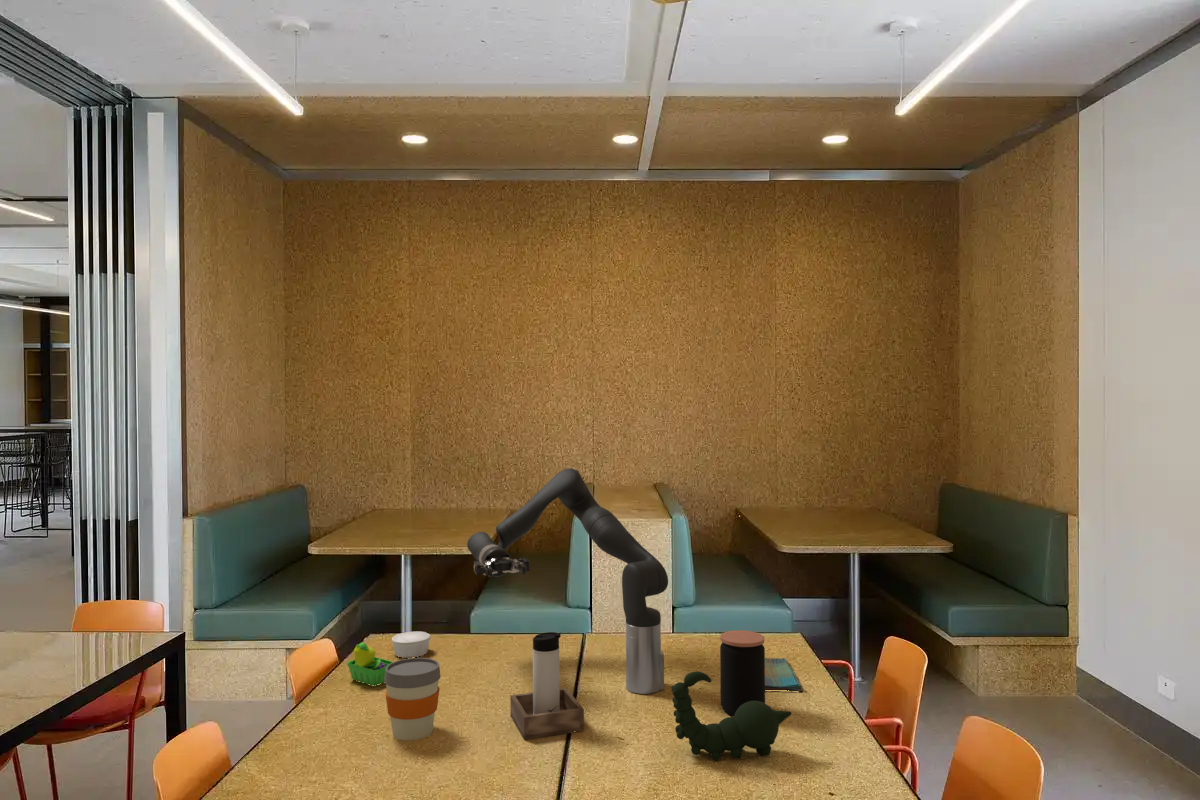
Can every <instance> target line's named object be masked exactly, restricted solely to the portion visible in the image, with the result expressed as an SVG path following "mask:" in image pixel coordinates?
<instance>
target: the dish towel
mask: <svg viewBox="0 0 1200 800" xmlns="http://www.w3.org/2000/svg"><path fill="white" fill-rule="evenodd" d="M802 688H803V686H802V685H801V683H800V682H799V680H798V678H797V675H796V674H795V672H794V671H793V669H792V667H791V666H790V664H789V662H788V661H787V659H786V658H785V657H781V658H774V657H773V658H769V657H767V658H766V657H765V690H787V691H788V690H789V691H803V690H802Z"/></svg>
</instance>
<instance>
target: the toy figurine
mask: <svg viewBox="0 0 1200 800" xmlns="http://www.w3.org/2000/svg"><path fill="white" fill-rule="evenodd" d="M702 681H705V682H707V683H709V684H710V683H712V679H711V677H710V676H709V675H708V674H706V673H705V672H702V671H697V670H695V671H692V672H689V673H687V674H686V675H685V676H684V678H683V682H676V683H675V684H674V685H672V686H671V688H670V690H671V693H672V696H673V697H672V699H671V700H672V703H673V708H674V709H675V710H674V711H673V717H675V718H674V719H675V720H674V721H675V723H677V724H678V725H676V726H675V728H674V729H675V733H676V738H677V739H678V740H683V739H685V738H686V739H688V744H689V745H690V747H691V749H690V751H691V753H692V755H694V756H698V755H700V754H701V750H704V751H705V752H706V753H708V754H710V757H711V759H712V760H713V761H715V760H716V761H719V760H720V759H721V757H722V755H721V754H723V753H725V752H729V753H730V755H731V756H732V758H733V759H737V760H738V759H740V758H741V757H742V756H743V753H744V752H743V748H744V747H748V748H749V749H754V750H755V751H756V753H757V754H758V755H760V756H761V757H768V756H769V755H770V754H771V751H772V746H771V745H774V744H775V741H776V738H777V736H778V733H779V727H780V725H781V724H782V723H783V722H784V721H785V720H786V719H788V718H789V717H790V716H791V715H792V713H793V712H792V711H790V710H775V709H773V708H772V707H771V706H770V705H768V704H767V703H766V702H765V703H763V702H760V701H749V702H746V703H744V704H742V705H741V706H740V707H739V708H738V709H737V711H736V712H735V715H734V717H733V716H729V717H725V718H723V719H721V720H720V721H719V723H714V722H713V723H708V724H705V723H701V722H700V720H699V718H698V717H697V715H696V710H695V709H694V707H693V705H692V704H693V699H692V697H691V695H690V693H689V692H690V689H689V688H691V687H693V686H695V685H696V684H697V683H698V682H702Z"/></svg>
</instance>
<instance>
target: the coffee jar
mask: <svg viewBox="0 0 1200 800" xmlns="http://www.w3.org/2000/svg"><path fill="white" fill-rule="evenodd" d="M719 637H720V638H719V639H720V641H721V644H720V647H719V649H720V651H719V653H720V654H719V655H720V656H719V657H720V658H719V661H720V663H719V668H720V669H719V670H720V676H719V678H720V679H719V680H720V681H719V682H720V685H719V687H720V706H721V708H722V710H723V713H725V714H727V715H728V716H729V717H734V715H735V712H736V711H737V709H738V708H739V707H740V706H741V705H742V704H744V703H746V702H749V701H760V702H763V703H765V704H766V691H765V658H766V656H765V655H766V651H765V650H766V648H765V646H764V645H763V644H764V643H765V636H764V635H763V634H762V633H759V632H755V631H750V630H744V629H743V630H735V629H734V630H729V631H724V632H722V633H721V634H720V636H719Z"/></svg>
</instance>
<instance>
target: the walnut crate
mask: <svg viewBox="0 0 1200 800" xmlns="http://www.w3.org/2000/svg"><path fill="white" fill-rule="evenodd" d="M509 697H510V702H509V704H510V718H511V719H513V720H512V721H513V723H514V725H515V726H516V728H517V730H518V731H519V733H520V736H521V738H523V741H528V740H533V739H534V740H535V739H541V738H546V737H547V738H548V737H554V736H560V735H569V734H572V733H571V732H574V731H581V732H583V731H582V730H584V731H585V708H583V706H582V705H581V704H580V702H579V701H578V700H577V699H576V698H575V696H574V695H573V694H572V693H571V692H570V690H569V689H568V688H567V687H563V688H560V711H555V712H548V713H540V714H533V691H532V692H524V693H518V694H510V696H509ZM574 733H575V732H574Z"/></svg>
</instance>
